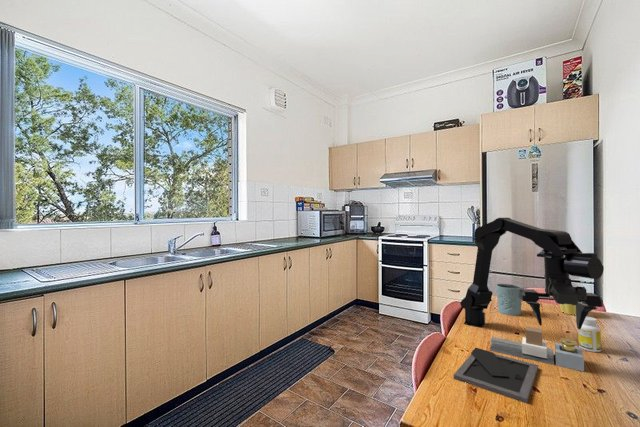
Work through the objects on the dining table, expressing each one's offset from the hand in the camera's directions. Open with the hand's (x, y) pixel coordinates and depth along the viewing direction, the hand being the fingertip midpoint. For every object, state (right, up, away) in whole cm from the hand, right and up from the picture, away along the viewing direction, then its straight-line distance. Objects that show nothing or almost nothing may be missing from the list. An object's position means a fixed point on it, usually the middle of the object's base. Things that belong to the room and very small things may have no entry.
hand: (559, 326), depth 87 cm
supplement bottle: (+16, -10, +8) cm, 21 cm away
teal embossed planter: (+15, -11, +46) cm, 49 cm away
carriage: (-5, -10, +4) cm, 12 cm away
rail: (-7, -10, +6) cm, 14 cm away
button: (+2, -7, -1) cm, 8 cm away
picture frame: (-22, -11, -7) cm, 26 cm away
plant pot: (+41, -11, +44) cm, 61 cm away
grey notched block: (+2, -10, -1) cm, 10 cm away
